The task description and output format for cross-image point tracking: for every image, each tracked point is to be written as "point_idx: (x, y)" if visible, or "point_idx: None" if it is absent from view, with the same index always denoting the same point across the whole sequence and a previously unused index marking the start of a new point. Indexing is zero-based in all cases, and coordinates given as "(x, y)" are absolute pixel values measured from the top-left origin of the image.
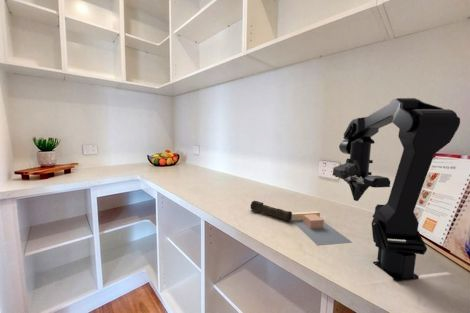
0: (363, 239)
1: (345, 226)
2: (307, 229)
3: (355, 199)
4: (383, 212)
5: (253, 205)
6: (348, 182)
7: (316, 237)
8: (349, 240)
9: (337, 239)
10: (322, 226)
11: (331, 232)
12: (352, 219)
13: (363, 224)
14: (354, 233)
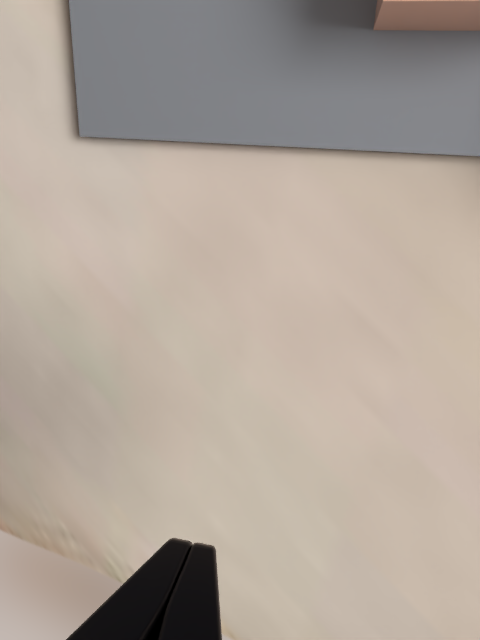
0: (136, 284)
1: (354, 326)
2: None
3: (159, 554)
4: None
5: None
6: None
7: None
8: (105, 131)
9: (129, 20)
10: (376, 16)
11: (257, 59)
12: (449, 497)
13: (340, 493)
14: (227, 296)
